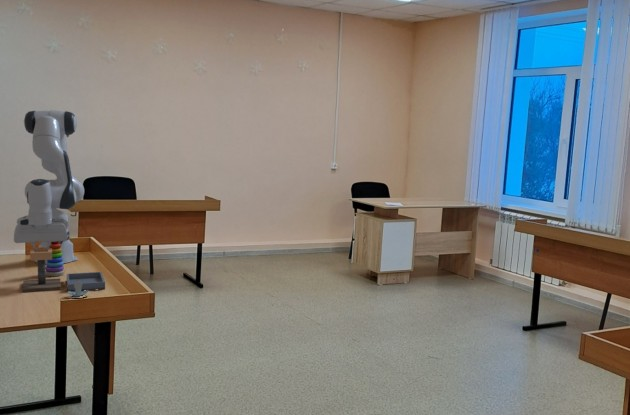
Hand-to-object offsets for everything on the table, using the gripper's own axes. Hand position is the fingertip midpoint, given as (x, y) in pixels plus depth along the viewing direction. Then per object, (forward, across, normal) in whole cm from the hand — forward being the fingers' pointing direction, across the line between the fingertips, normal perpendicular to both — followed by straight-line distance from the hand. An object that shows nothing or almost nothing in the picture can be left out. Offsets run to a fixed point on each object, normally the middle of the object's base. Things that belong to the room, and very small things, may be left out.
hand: (41, 252), depth 256 cm
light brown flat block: (+1, 0, +4) cm, 4 cm away
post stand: (+13, 0, +6) cm, 14 cm away
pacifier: (+13, -13, +26) cm, 32 cm away
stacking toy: (+13, -5, -13) cm, 19 cm away
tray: (+13, -16, +8) cm, 22 cm away
